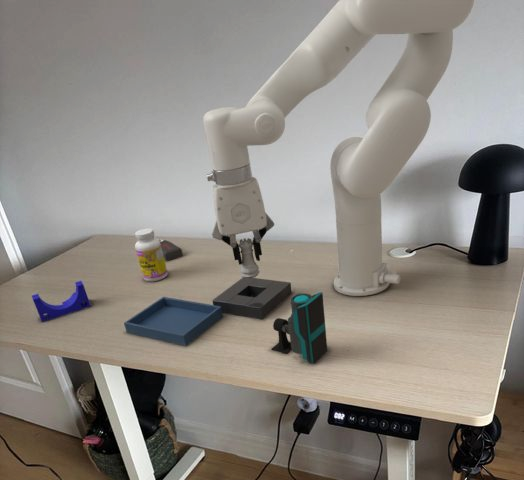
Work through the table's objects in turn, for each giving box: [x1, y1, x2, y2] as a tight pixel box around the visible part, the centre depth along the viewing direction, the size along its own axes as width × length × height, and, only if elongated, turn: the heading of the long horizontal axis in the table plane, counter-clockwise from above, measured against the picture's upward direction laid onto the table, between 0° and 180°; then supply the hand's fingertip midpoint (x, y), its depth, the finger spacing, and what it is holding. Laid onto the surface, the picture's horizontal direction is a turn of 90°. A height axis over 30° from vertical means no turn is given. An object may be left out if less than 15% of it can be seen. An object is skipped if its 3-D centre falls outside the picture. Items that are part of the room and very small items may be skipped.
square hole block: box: [211, 277, 293, 320], centre depth 118 cm, size 13×13×3 cm
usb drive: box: [160, 239, 184, 262], centre depth 155 cm, size 5×12×3 cm, turn 30°
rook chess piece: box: [238, 237, 261, 278], centre depth 114 cm, size 4×4×8 cm
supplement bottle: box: [134, 227, 168, 282], centre depth 137 cm, size 7×7×13 cm
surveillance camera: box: [271, 291, 328, 364], centre depth 95 cm, size 6×12×10 cm
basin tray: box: [123, 296, 224, 347], centre depth 115 cm, size 17×13×2 cm
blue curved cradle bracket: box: [31, 280, 92, 323], centre depth 129 cm, size 12×4×6 cm, turn 117°
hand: (248, 259), depth 114 cm, fingers closed on rook chess piece, 3 cm apart
